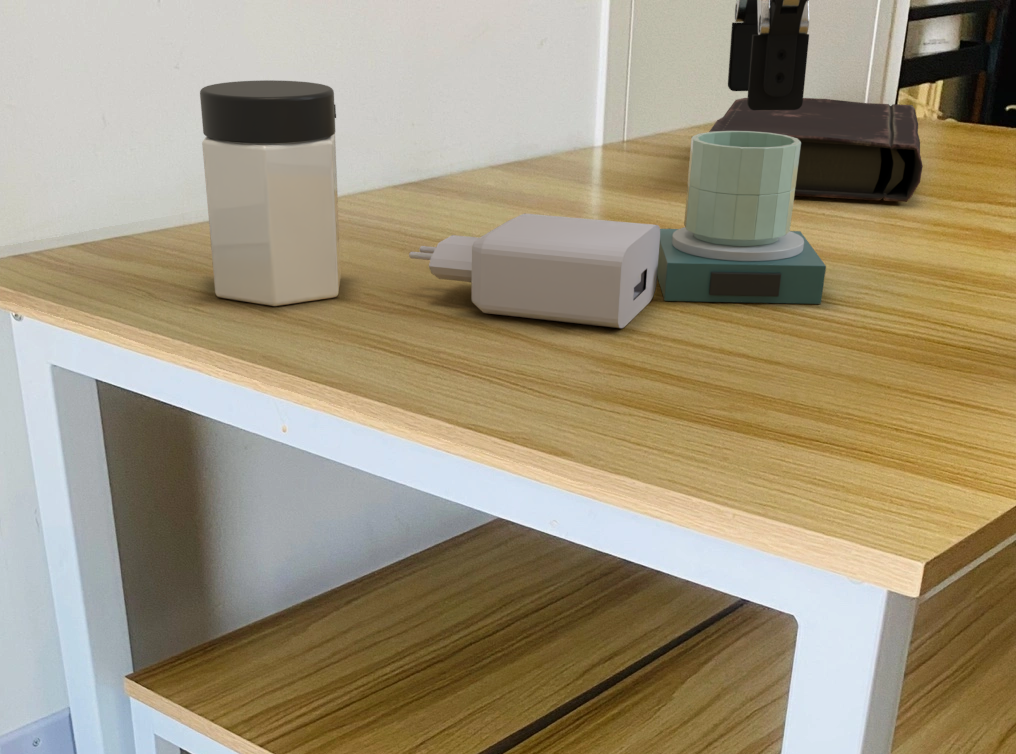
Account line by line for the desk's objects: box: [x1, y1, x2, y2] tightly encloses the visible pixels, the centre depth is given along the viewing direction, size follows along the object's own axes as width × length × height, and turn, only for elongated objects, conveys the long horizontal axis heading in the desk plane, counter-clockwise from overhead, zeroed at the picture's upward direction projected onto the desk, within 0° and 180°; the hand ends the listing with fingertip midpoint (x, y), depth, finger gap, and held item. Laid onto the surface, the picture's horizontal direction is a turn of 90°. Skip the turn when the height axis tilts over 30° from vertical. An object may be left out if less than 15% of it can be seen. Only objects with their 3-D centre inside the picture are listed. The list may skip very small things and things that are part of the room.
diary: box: [708, 97, 924, 203], centre depth 125 cm, size 19×25×5 cm
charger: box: [408, 213, 661, 329], centre depth 86 cm, size 5×9×15 cm
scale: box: [657, 226, 827, 305], centre depth 91 cm, size 10×10×3 cm
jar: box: [199, 79, 342, 307], centre depth 86 cm, size 9×8×12 cm
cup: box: [683, 131, 801, 246], centre depth 89 cm, size 7×7×6 cm
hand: (762, 99), depth 86 cm, fingers open, 9 cm apart
